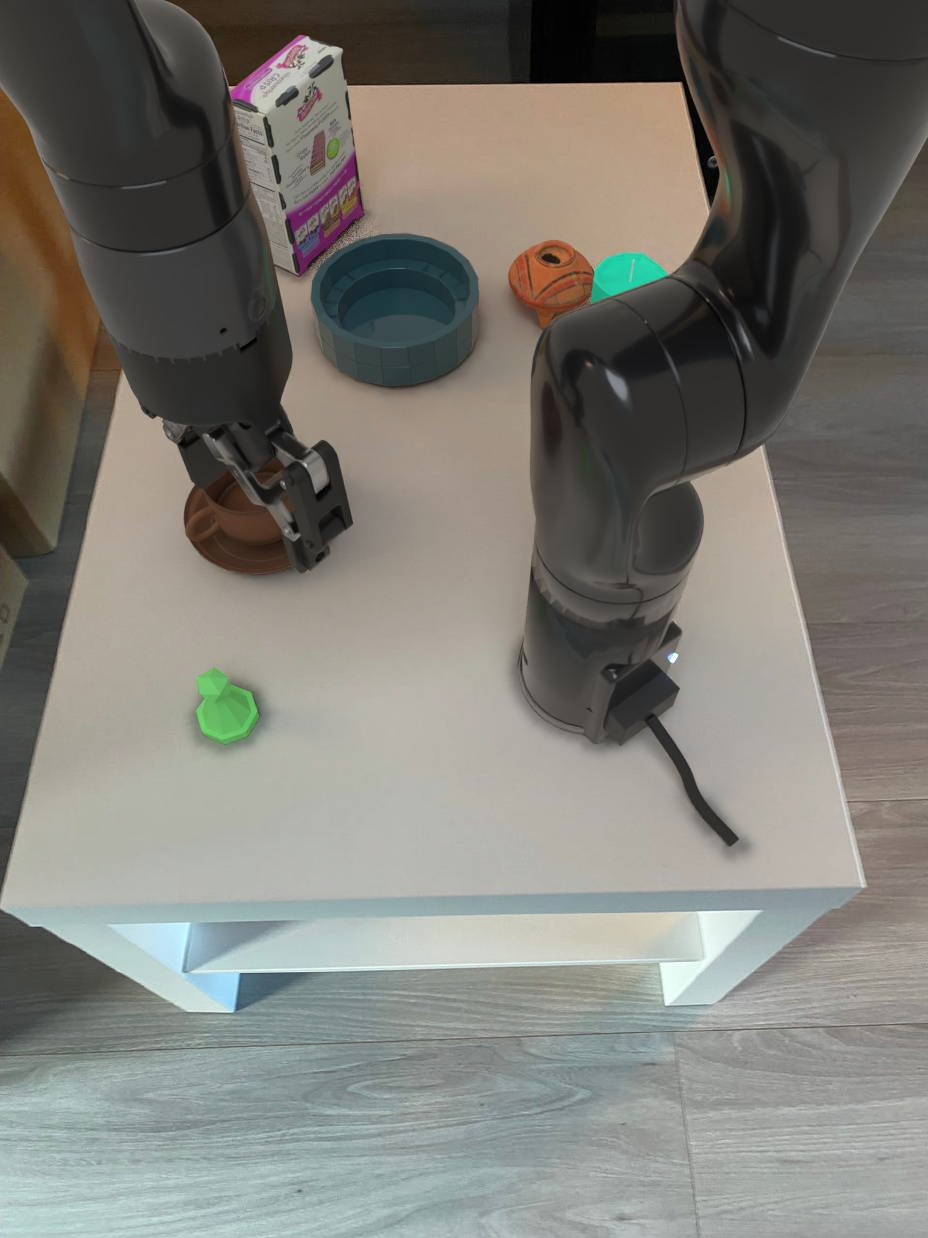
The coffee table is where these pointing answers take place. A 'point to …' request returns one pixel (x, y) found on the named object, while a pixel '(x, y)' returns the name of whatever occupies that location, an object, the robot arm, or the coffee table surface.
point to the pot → (551, 279)
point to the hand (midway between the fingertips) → (260, 518)
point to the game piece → (224, 708)
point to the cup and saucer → (236, 525)
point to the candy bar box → (300, 150)
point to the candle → (624, 274)
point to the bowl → (396, 308)
